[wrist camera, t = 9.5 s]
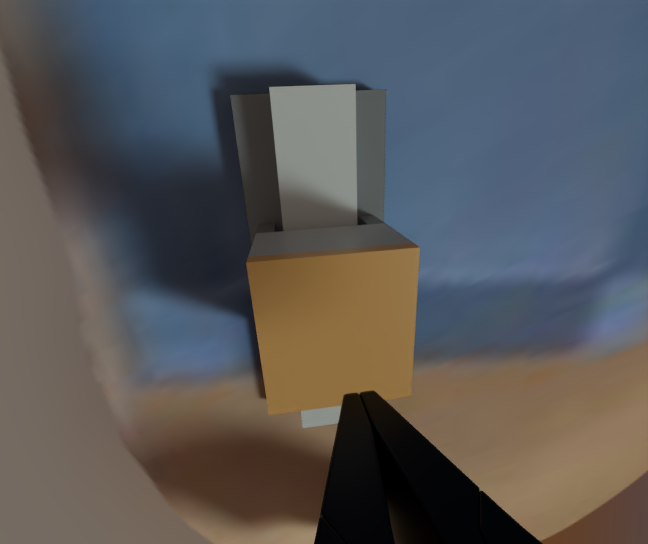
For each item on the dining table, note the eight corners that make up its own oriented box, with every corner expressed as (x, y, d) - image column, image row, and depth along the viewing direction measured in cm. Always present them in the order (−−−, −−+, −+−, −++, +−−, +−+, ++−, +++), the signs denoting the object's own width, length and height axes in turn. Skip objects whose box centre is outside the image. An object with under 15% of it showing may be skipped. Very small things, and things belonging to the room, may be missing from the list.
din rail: (376, 388, 22) (387, 416, 20) (274, 401, 21) (273, 432, 19) (379, 93, 15) (397, 82, 13) (233, 98, 15) (224, 88, 12)
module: (373, 323, 19) (410, 396, 13) (273, 334, 18) (269, 415, 13) (373, 215, 16) (419, 247, 11) (259, 223, 16) (246, 262, 10)
